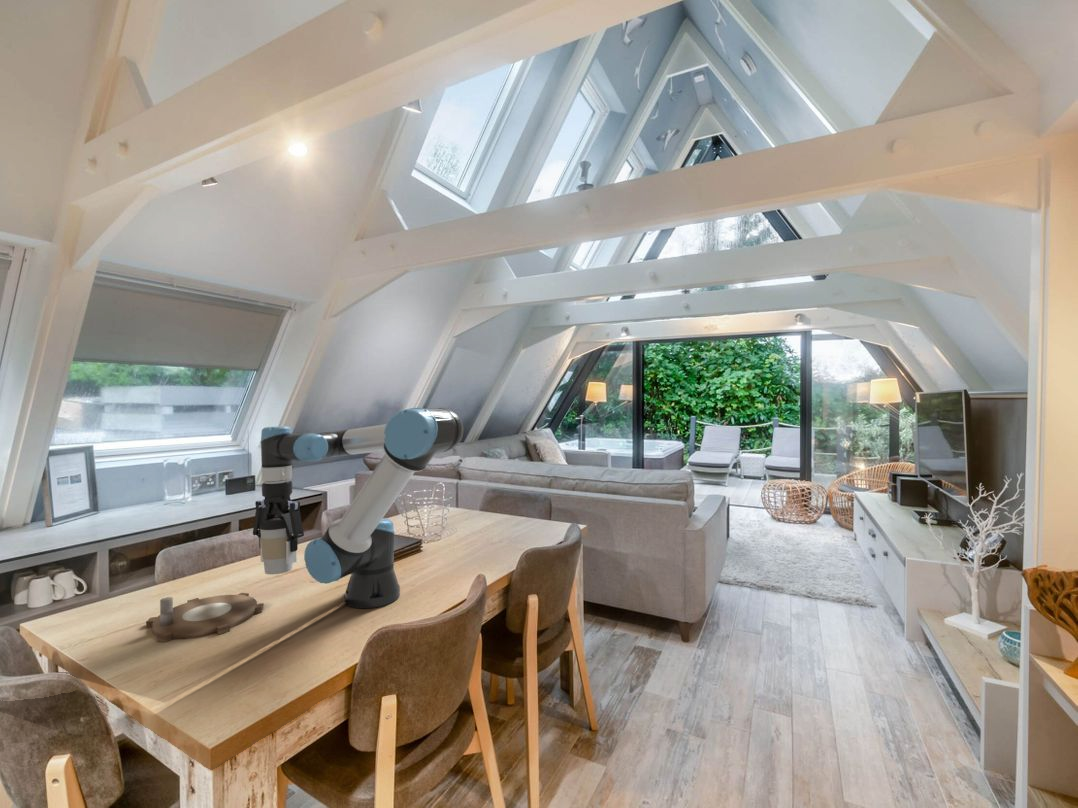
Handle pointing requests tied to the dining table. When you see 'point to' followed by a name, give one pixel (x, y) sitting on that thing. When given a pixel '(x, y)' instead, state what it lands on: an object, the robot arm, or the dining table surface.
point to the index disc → (202, 616)
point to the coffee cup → (274, 546)
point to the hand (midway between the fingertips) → (278, 561)
